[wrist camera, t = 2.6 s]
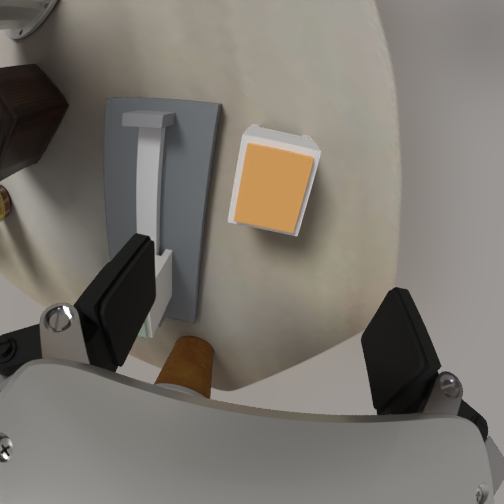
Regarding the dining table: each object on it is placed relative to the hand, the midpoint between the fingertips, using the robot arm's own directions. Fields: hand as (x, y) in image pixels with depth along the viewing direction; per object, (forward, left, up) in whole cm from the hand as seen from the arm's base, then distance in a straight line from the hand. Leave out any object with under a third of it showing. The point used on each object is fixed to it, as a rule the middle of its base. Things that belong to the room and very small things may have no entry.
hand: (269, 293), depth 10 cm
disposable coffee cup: (+31, -6, -19) cm, 37 cm away
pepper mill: (-2, -30, -19) cm, 36 cm away
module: (0, 0, -19) cm, 19 cm away
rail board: (+9, -12, -19) cm, 24 cm away
